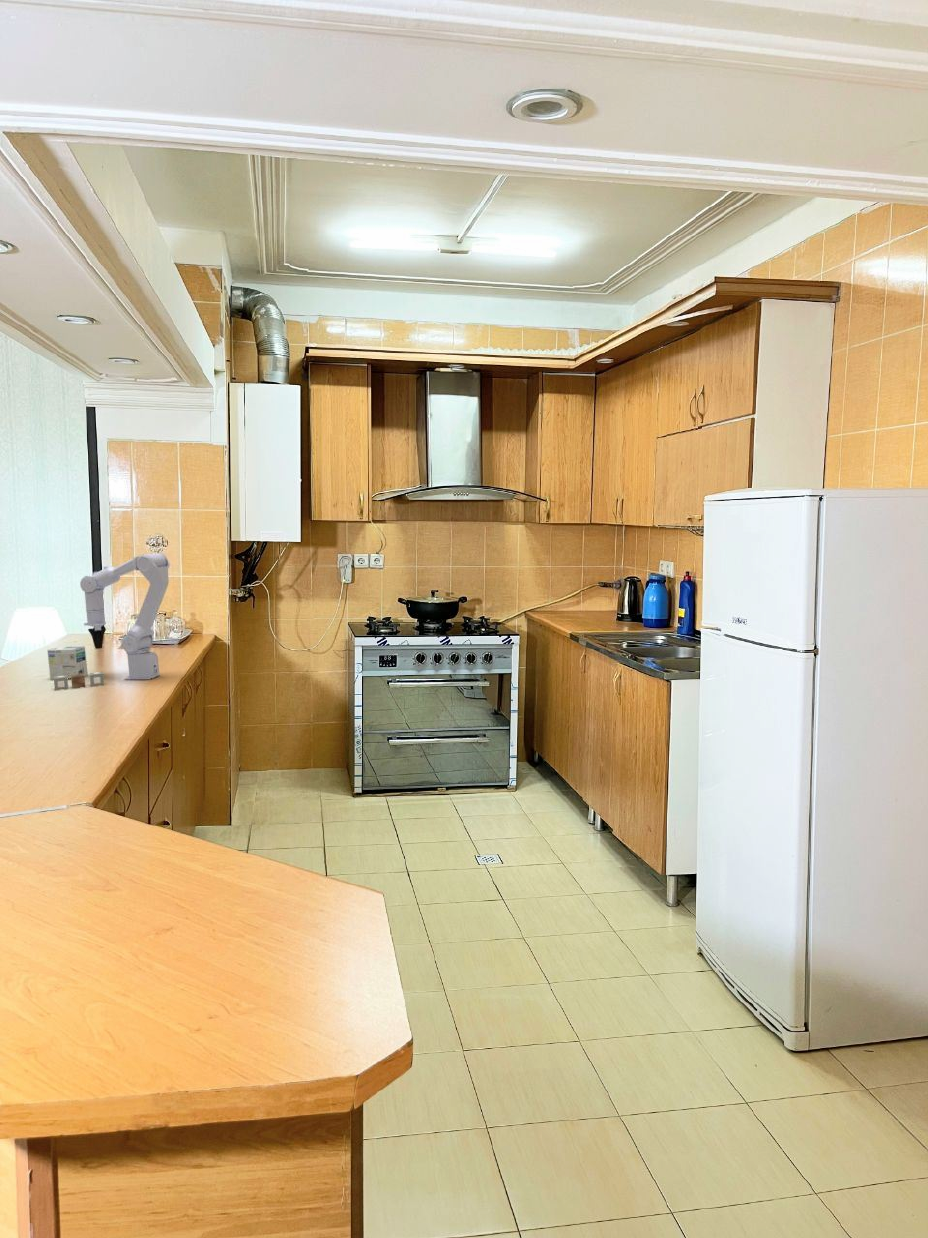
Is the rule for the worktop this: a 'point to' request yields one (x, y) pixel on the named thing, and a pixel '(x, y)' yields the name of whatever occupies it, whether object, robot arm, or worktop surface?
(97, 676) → the marked grey block 2
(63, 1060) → the worktop surface
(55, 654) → the light bulb box
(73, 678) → the plain walnut block
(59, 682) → the marked grey block 1
